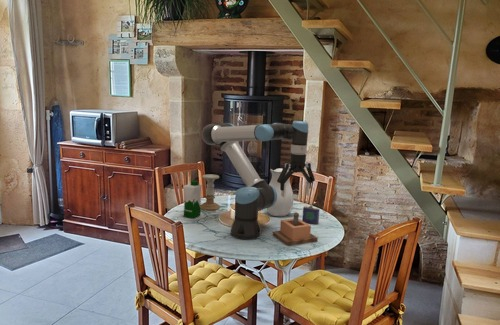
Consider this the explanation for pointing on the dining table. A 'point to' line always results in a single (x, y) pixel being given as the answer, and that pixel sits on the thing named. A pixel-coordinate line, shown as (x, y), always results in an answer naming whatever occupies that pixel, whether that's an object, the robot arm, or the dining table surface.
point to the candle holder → (210, 194)
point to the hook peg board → (291, 242)
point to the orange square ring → (295, 229)
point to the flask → (310, 215)
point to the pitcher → (282, 204)
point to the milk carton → (192, 200)
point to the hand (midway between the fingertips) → (295, 195)
